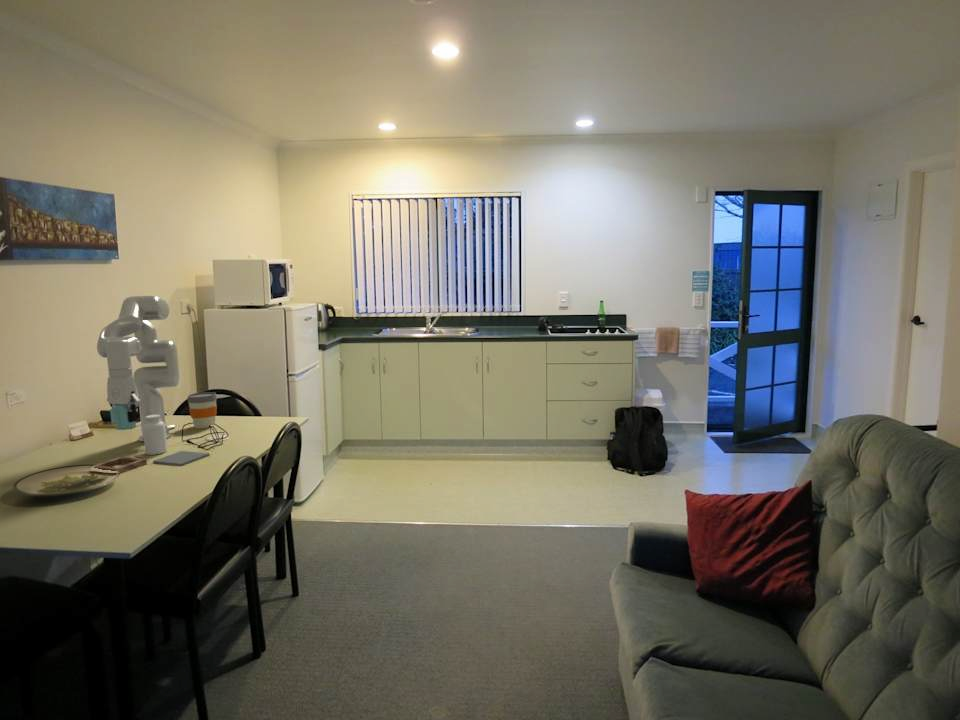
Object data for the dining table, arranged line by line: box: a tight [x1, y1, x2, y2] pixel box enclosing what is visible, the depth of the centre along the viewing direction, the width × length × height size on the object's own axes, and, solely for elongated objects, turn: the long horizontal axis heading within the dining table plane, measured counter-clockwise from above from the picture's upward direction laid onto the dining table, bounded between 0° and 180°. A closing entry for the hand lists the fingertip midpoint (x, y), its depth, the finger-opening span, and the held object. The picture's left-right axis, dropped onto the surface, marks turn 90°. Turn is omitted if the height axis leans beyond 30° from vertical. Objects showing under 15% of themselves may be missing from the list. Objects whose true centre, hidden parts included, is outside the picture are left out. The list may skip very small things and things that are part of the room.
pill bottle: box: [143, 415, 168, 456], centre depth 258 cm, size 8×8×15 cm
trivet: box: [152, 450, 210, 467], centre depth 248 cm, size 14×14×1 cm
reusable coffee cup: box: [187, 391, 218, 429], centre depth 301 cm, size 13×13×15 cm
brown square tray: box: [93, 456, 148, 474], centre depth 239 cm, size 13×13×2 cm
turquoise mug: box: [109, 404, 137, 431], centre depth 237 cm, size 8×6×9 cm
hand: (125, 420), depth 239 cm, fingers closed on turquoise mug, 6 cm apart
